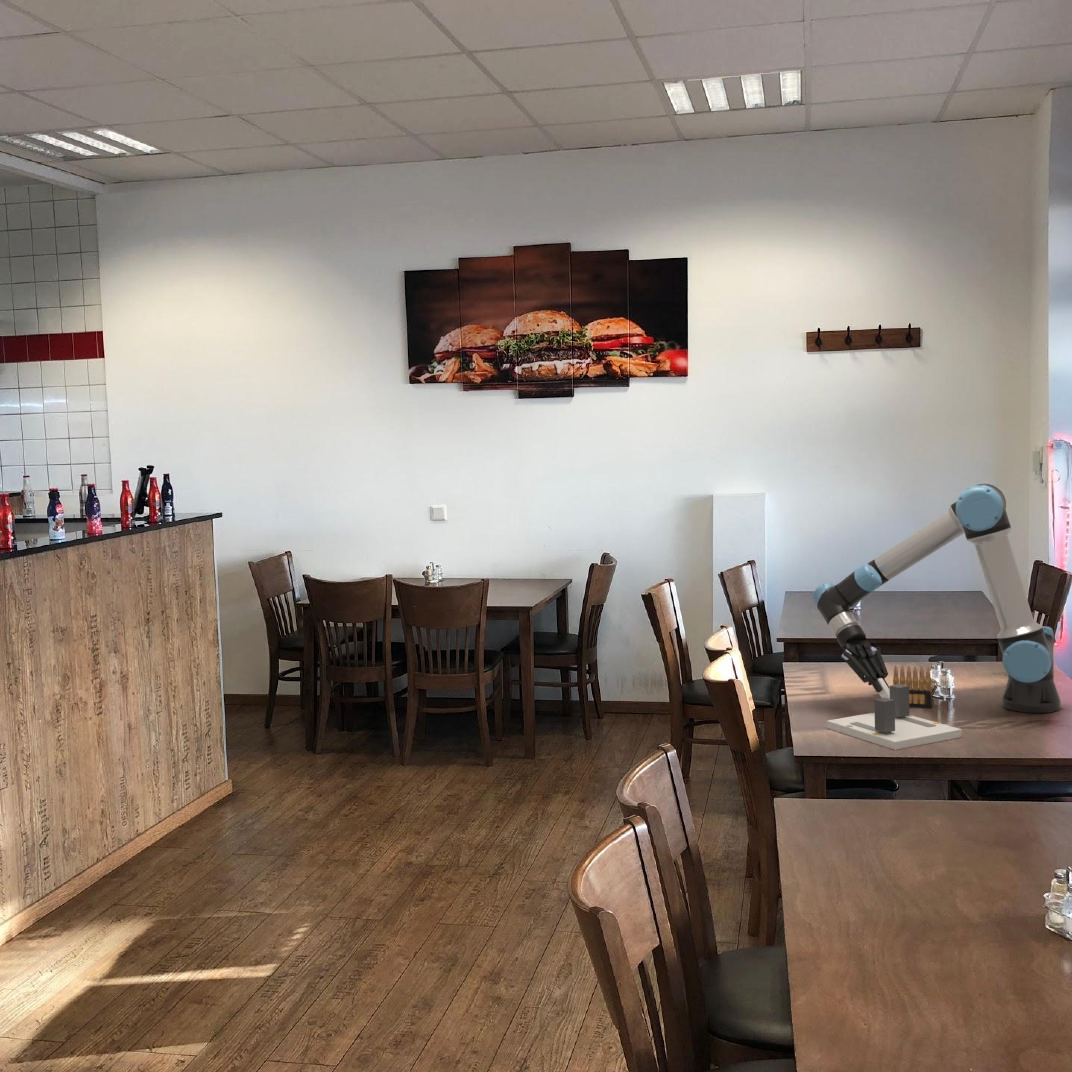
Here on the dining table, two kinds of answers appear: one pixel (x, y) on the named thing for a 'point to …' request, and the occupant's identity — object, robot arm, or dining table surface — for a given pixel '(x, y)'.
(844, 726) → the switch panel
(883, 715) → the block
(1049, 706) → the robot arm
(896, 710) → the block
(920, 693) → the ammunition clip
